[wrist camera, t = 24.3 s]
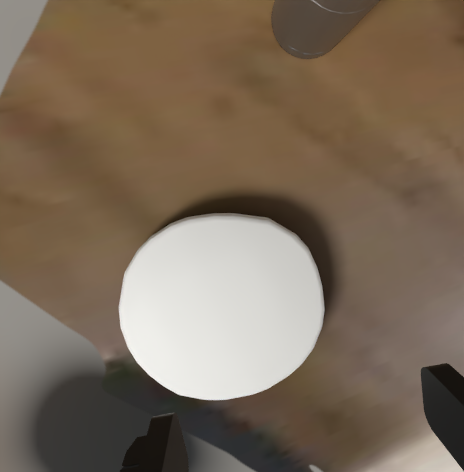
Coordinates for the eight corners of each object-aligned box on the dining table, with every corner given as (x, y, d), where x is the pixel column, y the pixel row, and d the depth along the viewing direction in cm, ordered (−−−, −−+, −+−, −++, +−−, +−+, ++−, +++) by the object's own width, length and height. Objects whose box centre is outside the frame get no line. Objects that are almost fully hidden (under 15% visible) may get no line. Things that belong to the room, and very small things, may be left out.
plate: (166, 433, 50) (74, 267, 45) (177, 401, 56) (97, 252, 51) (360, 371, 46) (282, 178, 40) (348, 344, 52) (279, 174, 47)
